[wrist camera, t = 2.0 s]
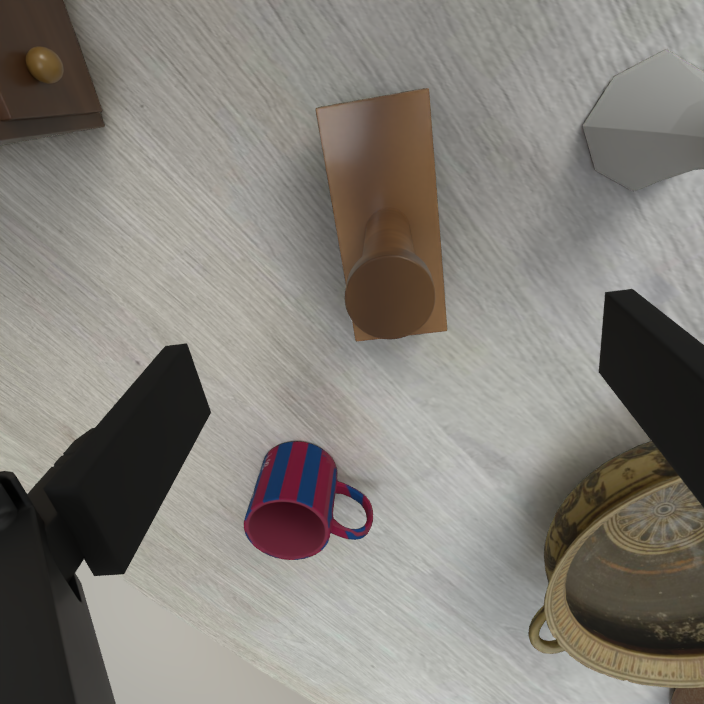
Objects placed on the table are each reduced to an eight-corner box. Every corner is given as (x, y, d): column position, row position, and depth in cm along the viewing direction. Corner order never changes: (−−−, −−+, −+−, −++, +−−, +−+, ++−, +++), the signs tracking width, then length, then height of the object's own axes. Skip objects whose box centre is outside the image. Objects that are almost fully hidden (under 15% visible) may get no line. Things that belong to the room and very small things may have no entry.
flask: (735, 122, 29) (887, 137, 20) (626, 211, 32) (718, 257, 23) (670, 22, 27) (807, -10, 18) (559, 126, 30) (632, 142, 21)
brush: (422, 88, 29) (455, 88, 16) (440, 304, 36) (474, 433, 22) (324, 105, 30) (276, 119, 17) (358, 314, 36) (344, 445, 23)
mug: (271, 431, 42) (252, 489, 36) (382, 461, 43) (382, 522, 37) (256, 487, 45) (236, 548, 39) (360, 514, 46) (356, 578, 40)
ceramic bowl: (578, 625, 52) (617, 735, 43) (431, 498, 45) (443, 599, 36) (898, 483, 41) (1038, 591, 32) (772, 284, 34) (910, 354, 25)
